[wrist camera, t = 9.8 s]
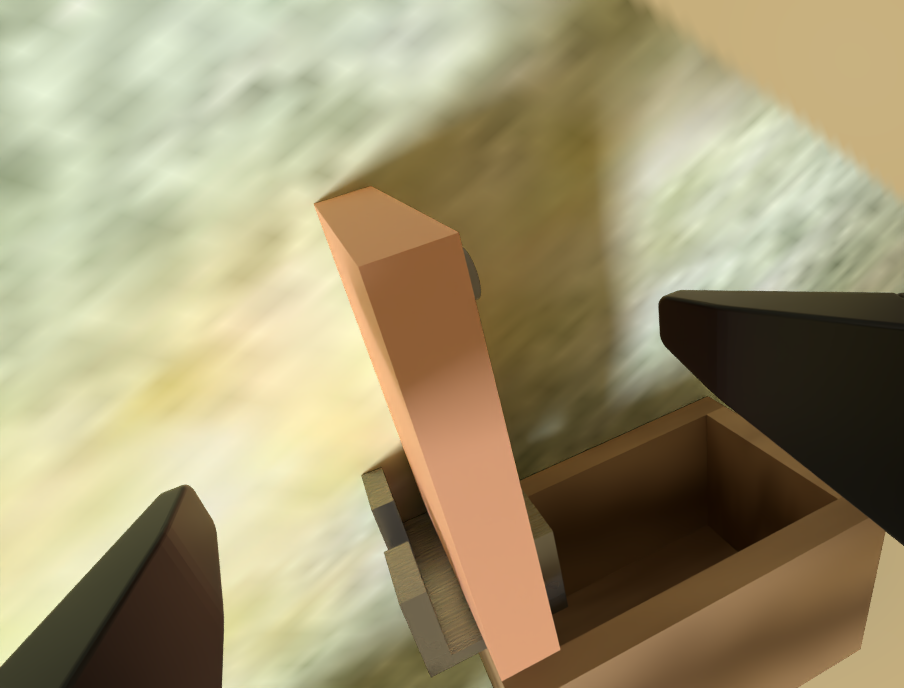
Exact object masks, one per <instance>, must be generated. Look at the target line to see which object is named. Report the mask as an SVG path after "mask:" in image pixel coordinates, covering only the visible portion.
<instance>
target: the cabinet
mask: <svg viewBox="0 0 904 688" xmlns="http://www.w3.org/2000/svg"><path fill="white" fill-rule="evenodd" d="M520 486H521V490H522V489H523V491H524V492H525V494H526V495H527V496H528V498H529V499H530V500H531V502H532V503H533V505H534V506H535V507H536V509H537V510H538V511H539V513H540V514H541V516H542V517H543V518H544V520H545V521H546V522H547V524H548V525H549V527H550V528H551V529H552V531H553V535H554V540H555V544H556V549H557V554H558V559H559V564H560V569H561V574H562V579H563V584H564V589H565V594H566V599H567V603H568V607H567V608H565V609H563V610H561V611H559V612H557V613H555V614H553V615H552V617H553V621H554V625H555V629H556V634H557V638H558V642H559V646H560V650H559V651H557V652H556V653H554V654H552V655H550V656H548V657H546V658H544V659H543V660H541V661H539V662H537V663H535V664H533V665H531V666H530V667H528V668H526V669H524V670H522V671H520V672H518V673H517V674H515V675H513V676H511V677H509V678H507V679H505V680H503V681H501V678H500V676H499V674H498V671H497V669H496V667H495V665H494V662H493V660H492V658H491V655H490V653H489V651H488V648H487V649H485V650H483V651H481V652H479V655H480V657H481V660H482V662H483V664H484V667H485V669H486V672H487V674H488V676H489V679H490V681H491V684H492V686H493V688H798V687H799V686H801V685H803V684H804V683H806V682H808V681H809V680H811V679H813V678H814V677H816V676H817V675H819V674H821V673H822V672H824V671H825V670H827V669H829V668H830V667H832V666H834V665H835V664H837V663H839V662H840V661H842V660H844V659H845V658H847V657H849V656H850V655H852V654H853V653H855V652H857V651H858V650H860V649H861V644H862V639H863V635H864V630H865V625H866V621H867V615H868V611H869V607H870V602H871V597H872V592H873V588H874V583H875V578H876V574H877V569H878V564H879V560H880V555H881V550H882V545H883V541H884V536H885V531H884V530H883V529H882V528H881V527H879V526H878V525H877V524H876V523H874V522H873V521H872V520H871V519H869V518H868V517H867V516H866V515H864V514H863V513H862V512H861V511H859V510H858V509H857V508H856V507H854V506H853V505H852V504H851V503H849V502H848V501H847V500H846V499H844V498H843V497H842V496H841V495H839V494H838V493H837V492H836V491H834V490H833V489H832V488H830V487H829V486H828V485H827V484H825V483H824V482H823V481H822V480H820V479H819V478H818V477H817V476H815V475H814V474H813V473H812V472H810V471H809V470H808V469H807V468H805V467H804V466H803V465H802V464H800V463H799V462H798V461H797V460H795V459H794V458H793V457H792V456H790V455H789V454H788V453H787V452H785V451H784V450H783V449H781V448H780V447H779V446H778V445H776V444H775V443H774V442H773V441H771V440H770V439H769V438H768V437H766V436H765V435H764V434H763V433H761V432H760V431H759V430H758V429H756V428H755V427H754V426H753V425H751V424H750V423H749V422H748V421H746V420H745V419H744V418H743V417H741V416H740V415H739V414H737V413H735V412H734V411H732V410H730V409H729V408H727V407H725V406H723V405H722V404H720V403H718V402H717V401H715V400H713V399H712V398H710V397H708V396H707V397H705V398H703V399H700V400H698V401H696V402H694V403H692V404H689V405H687V406H685V407H683V408H680V409H678V410H676V411H674V412H672V413H669V414H667V415H665V416H663V417H660V418H658V419H656V420H654V421H652V422H649V423H647V424H645V425H643V426H640V427H638V428H636V429H634V430H632V431H629V432H627V433H625V434H623V435H620V436H618V437H616V438H614V439H611V440H609V441H607V442H605V443H603V444H600V445H598V446H596V447H594V448H591V449H589V450H587V451H585V452H583V453H580V454H578V455H576V456H574V457H571V458H569V459H567V460H565V461H563V462H560V463H558V464H556V465H554V466H551V467H549V468H547V469H545V470H543V471H540V472H538V473H536V474H534V475H531V476H529V477H527V478H525V479H522V480H520Z"/></svg>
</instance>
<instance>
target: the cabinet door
mask: <svg viewBox="0 0 904 688" xmlns="http://www.w3.org/2000/svg"><path fill="white" fill-rule="evenodd" d="M314 206H315V209H316V211H317V214H318V217H319V220H320V222H321V225H322V228H323V231H324V233H325V236H326V239H327V241H328V244H329V247H330V250H331V252H332V255H333V258H334V261H335V263H336V266H337V269H338V271H339V274H340V277H341V280H342V282H343V285H344V288H345V291H346V293H347V296H348V299H349V301H350V304H351V307H352V310H353V312H354V315H355V318H356V321H357V323H358V326H359V329H360V331H361V334H362V337H363V340H364V342H365V345H366V348H367V351H368V353H369V356H370V359H371V361H372V364H373V367H374V370H375V372H376V375H377V378H378V380H379V383H380V386H381V389H382V391H383V394H384V397H385V400H386V402H387V405H388V408H389V410H390V413H391V416H392V419H393V421H394V424H395V427H396V430H397V432H398V435H399V438H400V440H401V443H402V446H403V449H404V451H405V454H406V457H407V460H408V462H409V465H410V468H411V470H412V473H413V476H414V479H415V481H416V484H417V487H418V490H419V492H420V495H421V498H422V500H423V502H424V504H425V507H426V509H427V511H428V514H429V516H430V518H431V520H432V523H433V525H434V527H435V530H436V532H437V534H438V536H439V539H440V541H441V543H442V546H443V548H444V550H445V552H446V555H447V557H448V559H449V562H450V564H451V566H452V568H453V571H454V573H455V575H456V578H457V580H458V582H459V584H460V587H461V589H462V591H463V594H464V596H465V598H466V600H467V603H468V605H469V607H470V610H471V612H472V614H473V616H474V619H475V621H476V623H477V626H478V628H479V630H480V632H481V635H482V637H483V639H484V642H485V644H486V646H487V648H488V651H489V653H490V655H491V658H492V660H493V662H494V665H495V667H496V669H497V671H498V674H499V676H500V678H501V681H503V680H505V679H507V678H509V677H511V676H513V675H515V674H517V673H518V672H520V671H522V670H524V669H526V668H528V667H530V666H531V665H533V664H535V663H537V662H539V661H541V660H543V659H544V658H546V657H548V656H550V655H552V654H554V653H556V652H557V651H559V650H560V646H559V642H558V638H557V634H556V629H555V625H554V621H553V617H552V613H551V609H550V605H549V601H548V597H547V592H546V588H545V584H544V580H543V576H542V572H541V568H540V564H539V560H538V555H537V551H536V547H535V543H534V539H533V535H532V531H531V527H530V523H529V518H528V514H527V510H526V506H525V502H524V498H523V494H522V490H521V486H520V481H519V477H518V473H517V469H516V465H515V461H514V457H513V453H512V449H511V444H510V440H509V436H508V432H507V428H506V424H505V420H504V416H503V412H502V407H501V403H500V399H499V395H498V391H497V387H496V383H495V379H494V375H493V370H492V366H491V362H490V358H489V354H488V350H487V346H486V342H485V338H484V333H483V329H482V325H481V321H480V317H479V313H478V309H477V305H476V301H475V300H477V299H479V298H480V296H481V287H480V282H479V277H478V274H477V271H476V268H475V266H474V263H473V261H472V259H471V257H470V255H469V254H468V252H467V251H466V250H465V249H464V248H463V247H462V243H461V239H460V235H459V232H457V231H455V230H453V229H452V228H450V227H448V226H446V225H444V224H442V223H440V222H438V221H436V220H435V219H433V218H431V217H429V216H427V215H425V214H423V213H421V212H419V211H417V210H416V209H414V208H412V207H410V206H408V205H406V204H404V203H402V202H400V201H399V200H397V199H395V198H393V197H391V196H389V195H387V194H385V193H383V192H381V191H380V190H378V189H376V188H374V187H372V186H369V187H366V188H363V189H359V190H356V191H353V192H350V193H347V194H343V195H340V196H337V197H334V198H331V199H328V200H324V201H321V202H318V203H315V204H314Z"/></svg>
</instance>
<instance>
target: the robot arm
mask: <svg viewBox="0 0 904 688" xmlns="http://www.w3.org/2000/svg"><path fill="white" fill-rule="evenodd" d="M658 307H659V326H660V337H661V340H662V342H663V344H664V345H665V347H666V348H667V349H668V350H669V351H670V352H671V353H672V354H673V355H674V356H675V357H676V358H677V359H678V360H679V361H680V362H681V363H682V364H683V365H684V366H686V367H687V368H688V369H689V370H690V371H691V372H692V373H693V374H694V375H695V376H696V377H697V378H698V379H699V380H700V381H701V382H702V383H703V384H704V385H705V386H706V387H707V388H708V389H709V390H710V391H711V392H712V393H713V394H715V395H716V396H717V397H718V398H719V399H720V400H721V401H723V402H724V403H725V404H726V405H727V406H729V407H730V408H731V409H733V410H734V411H735V412H736V413H738V414H739V415H740V416H741V417H743V418H744V419H745V420H746V421H748V422H749V423H750V424H751V425H753V426H754V427H755V428H756V429H758V430H759V431H760V432H761V433H763V434H764V435H765V436H766V437H768V438H769V439H770V440H771V441H773V442H774V443H775V444H776V445H778V446H779V447H780V448H781V449H783V450H784V451H785V452H787V453H788V454H789V455H790V456H792V457H793V458H794V459H795V460H797V461H798V462H799V463H800V464H802V465H803V466H804V467H805V468H807V469H808V470H809V471H810V472H812V473H813V474H814V475H815V476H817V477H818V478H819V479H820V480H822V481H823V482H824V483H825V484H827V485H828V486H829V487H830V488H832V489H833V490H834V491H836V492H837V493H838V494H839V495H841V496H842V497H843V498H844V499H846V500H847V501H848V502H849V503H851V504H852V505H853V506H854V507H856V508H857V509H858V510H859V511H861V512H862V513H863V514H864V515H866V516H867V517H868V518H869V519H871V520H872V521H873V522H874V523H876V524H877V525H878V526H879V527H881V528H882V529H883V530H884V531H886V532H887V533H888V534H890V535H891V536H892V537H893V538H895V539H896V540H897V541H898V542H900V543H901V544H902V545H903V546H904V293H899V294H895V293H866V292H790V291H715V290H679V291H676V292H673V293H670V294H668V295H665V296H663V297H662V298H661V299H660V301H659V306H658ZM223 642H224V610H223V597H222V586H221V575H220V564H219V553H218V542H217V532H216V528H215V525H214V522H213V520H212V518H211V517H210V515H209V513H208V512H207V510H206V509H205V507H204V505H203V504H202V502H201V500H200V499H199V497H198V496H197V494H196V492H195V491H194V489H193V488H192V487H190V486H189V485H181V486H179V487H176V488H174V489H171V490H169V491H166V492H164V493H162V494H160V495H159V496H158V497H157V498H156V499H155V500H154V502H153V503H152V504H151V505H150V506H149V507H148V508H147V509H146V510H145V511H144V512H143V513H142V515H141V516H140V517H139V518H138V519H137V520H136V521H135V522H134V523H133V524H132V525H131V526H130V528H129V529H128V530H127V531H126V532H125V533H124V534H123V535H122V536H121V537H120V538H119V539H118V540H117V542H116V543H115V544H114V545H113V546H112V547H111V548H110V549H109V550H108V551H107V552H106V553H105V555H104V556H103V557H102V558H101V559H100V560H99V561H98V562H97V563H96V564H95V565H94V566H93V567H92V569H91V570H90V571H89V572H88V573H87V574H86V575H85V576H84V577H83V578H82V579H81V580H80V582H79V583H78V584H77V585H76V586H75V587H74V588H73V589H72V590H71V591H70V592H69V593H68V595H67V596H66V597H65V598H64V599H63V600H62V601H61V602H60V603H59V604H58V605H57V606H56V607H55V609H54V610H53V611H52V612H51V613H50V614H49V615H48V616H47V617H46V618H45V619H44V620H43V622H42V623H41V624H40V625H39V626H38V627H37V628H36V629H35V630H34V631H33V632H32V633H31V634H30V636H29V637H28V638H27V639H26V640H25V641H24V642H23V643H22V644H21V645H20V646H19V647H18V649H17V650H16V651H15V652H14V653H13V654H12V655H11V656H10V657H9V658H8V659H7V660H6V662H5V663H4V664H3V665H2V666H1V667H0V688H222V669H223Z"/></svg>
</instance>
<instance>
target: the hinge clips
mask: <svg viewBox="0 0 904 688" xmlns="http://www.w3.org/2000/svg"><path fill="white" fill-rule="evenodd" d="M362 479H363V483H364V486H365V490H366V493H367V496H368V500H369V503H370V507H371V510H372V512H373V515H374V517H375V520H376V522H377V524H378V527H379V529H380V532H381V534H382V536H383V539H384V541H385V543H386V546H387V548H388V550H387V551H385V552H384V554H385V558H386V561H387V564H388V568H389V571H390V575H391V578H392V581H393V585H394V588H395V592H396V595H397V598H398V602H399V605H400V607H401V610H402V612H403V614H404V616H405V619H406V621H407V623H408V626H409V628H410V630H411V633H412V635H413V637H414V639H415V642H416V644H417V646H418V649H419V651H420V653H421V656H422V658H423V660H424V662H425V665H426V667H427V669H428V672H429V674H430V676H431V677H433V676H435V675H436V674H438V673H440V672H442V671H444V670H446V669H448V668H450V667H452V666H454V665H456V664H458V663H460V662H462V661H464V660H466V659H468V658H470V657H471V656H473V655H475V654H477V653H479V652H481V651H483V650H485V649H487V646H486V644H485V642H484V639H483V637H482V635H481V632H480V630H479V628H478V626H477V623H476V621H475V619H474V616H473V614H472V612H471V610H470V607H469V605H468V603H467V600H466V598H465V596H464V594H463V591H462V589H461V587H460V584H459V582H458V580H457V578H456V575H455V573H454V571H453V568H452V566H451V564H450V562H449V559H448V557H447V555H446V552H445V550H444V548H443V546H442V543H441V541H440V539H439V536H438V534H437V532H436V530H435V527H434V525H433V523H432V520H431V518H430V516H429V514H428V512H427V513H425V514H422V515H420V516H418V517H416V518H413V519H411V520H409V521H407V522H404V523H403V522H402V519H401V516H400V514H399V511H398V509H397V506H396V504H395V501H394V498H393V496H392V493H391V491H390V488H389V485H388V483H387V480H386V478H385V475H384V473H383V470H382V467H381V468H378V469H376V470H374V471H371V472H369V473H366V474H364V475H362ZM522 494H523V498H524V502H525V506H526V510H527V514H528V518H529V523H530V527H531V531H532V535H533V539H534V543H535V547H536V551H537V555H538V560H539V564H540V568H541V572H542V576H543V580H544V584H545V588H546V592H547V597H548V601H549V605H550V609H551V613H552V615H553V614H555V613H557V612H559V611H561V610H563V609H565V608H567V607H568V603H567V599H566V594H565V589H564V584H563V579H562V574H561V569H560V564H559V559H558V554H557V549H556V544H555V540H554V535H553V531H552V529H551V528H550V527H549V525H548V524H547V522H546V521H545V520H544V518H543V517H542V516H541V514H540V513H539V511H538V510H537V509H536V507H535V506H534V505H533V503H532V502H531V500H530V499H529V498H528V496H527V495H526V494H525V492H524V491H523V489H522Z"/></svg>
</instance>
